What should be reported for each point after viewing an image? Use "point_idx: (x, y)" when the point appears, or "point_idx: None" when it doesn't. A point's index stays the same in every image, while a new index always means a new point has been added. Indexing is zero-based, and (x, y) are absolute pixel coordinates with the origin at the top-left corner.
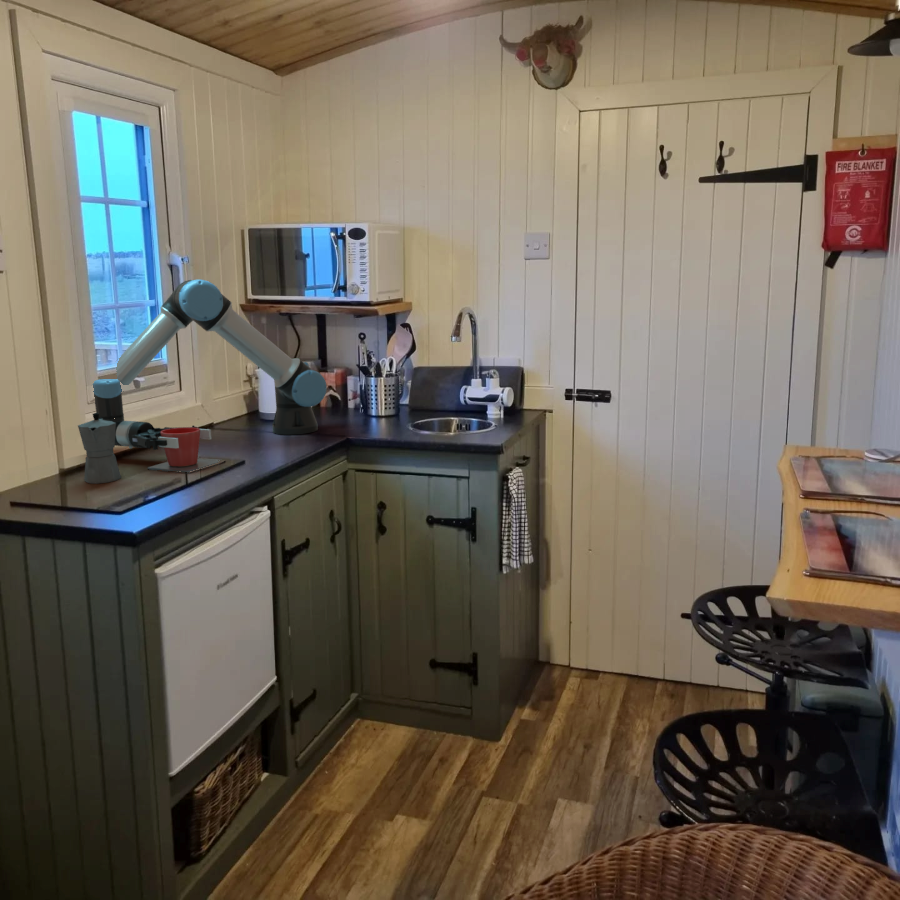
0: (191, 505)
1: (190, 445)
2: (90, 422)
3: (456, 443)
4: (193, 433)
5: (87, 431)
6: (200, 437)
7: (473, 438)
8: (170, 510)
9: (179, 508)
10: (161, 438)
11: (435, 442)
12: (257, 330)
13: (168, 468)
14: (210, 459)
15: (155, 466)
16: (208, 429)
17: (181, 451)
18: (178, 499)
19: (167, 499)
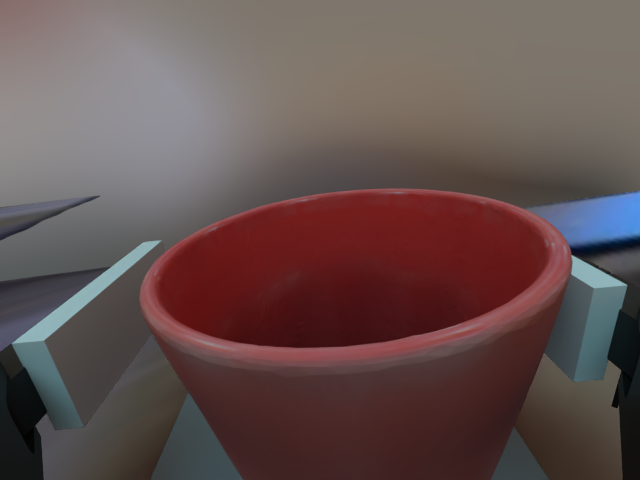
0: (580, 202)
1: (375, 271)
2: None
3: (64, 209)
4: (349, 201)
5: None
6: (140, 337)
7: (28, 211)
8: (632, 201)
9: (610, 201)
10: (581, 270)
11: (42, 218)
12: None
13: (509, 456)
14: (193, 415)
15: None
16: (135, 249)
17: (429, 312)
18: (598, 221)
19: (628, 227)
